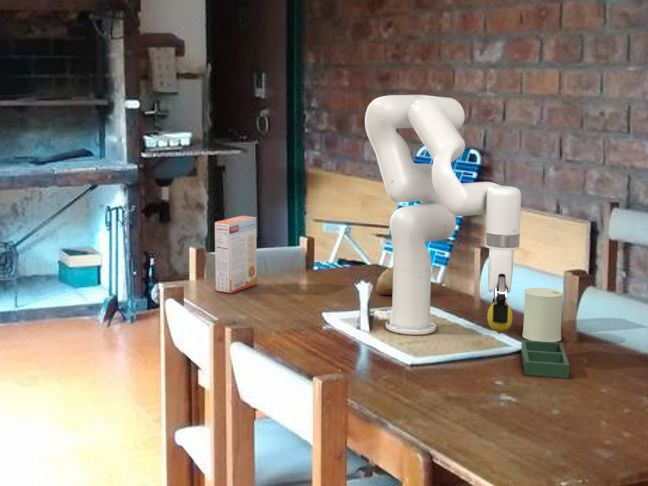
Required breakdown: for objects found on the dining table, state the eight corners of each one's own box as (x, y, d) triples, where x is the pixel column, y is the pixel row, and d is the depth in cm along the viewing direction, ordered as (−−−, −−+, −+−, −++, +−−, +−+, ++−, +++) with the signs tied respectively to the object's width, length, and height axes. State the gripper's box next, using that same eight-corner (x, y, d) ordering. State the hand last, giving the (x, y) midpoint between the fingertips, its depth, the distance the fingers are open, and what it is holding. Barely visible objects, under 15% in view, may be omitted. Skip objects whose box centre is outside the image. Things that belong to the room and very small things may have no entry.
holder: (525, 375, 221) (525, 361, 221) (521, 352, 238) (521, 339, 237) (568, 378, 219) (569, 364, 218) (561, 355, 236) (562, 342, 235)
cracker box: (241, 282, 308) (241, 214, 306) (257, 285, 305) (258, 216, 302) (213, 291, 297) (213, 220, 294) (230, 294, 293) (230, 222, 291)
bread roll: (431, 294, 294) (432, 267, 293) (387, 299, 288) (388, 271, 287) (413, 287, 303) (413, 261, 302) (369, 292, 297) (370, 265, 296)
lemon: (512, 331, 233) (513, 297, 233) (511, 338, 228) (512, 303, 227) (487, 329, 235) (489, 296, 234) (485, 335, 230) (486, 301, 229)
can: (563, 343, 245) (565, 295, 243) (523, 341, 247) (525, 293, 245) (559, 333, 254) (561, 286, 252) (520, 331, 256) (522, 284, 254)
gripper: (484, 233, 238) (482, 309, 240) (485, 246, 222) (483, 327, 224) (517, 235, 237) (515, 310, 239) (521, 248, 220) (518, 329, 222)
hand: (499, 318), depth 231 cm, fingers closed on lemon, 5 cm apart
